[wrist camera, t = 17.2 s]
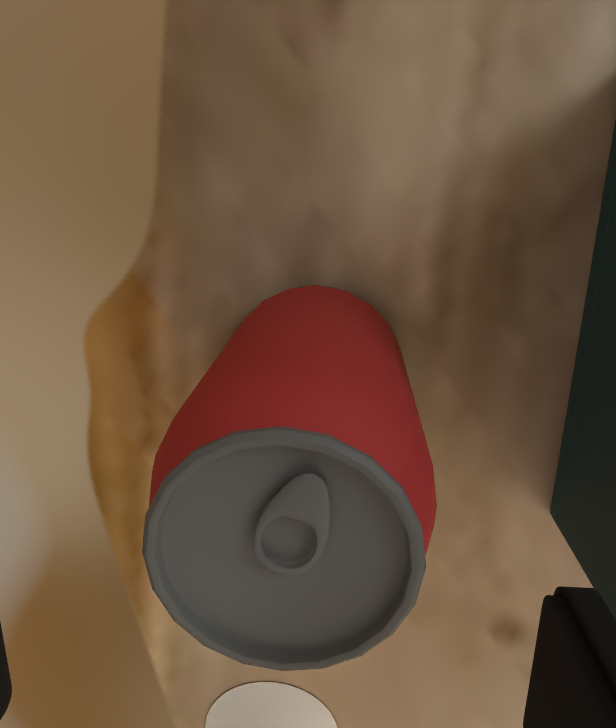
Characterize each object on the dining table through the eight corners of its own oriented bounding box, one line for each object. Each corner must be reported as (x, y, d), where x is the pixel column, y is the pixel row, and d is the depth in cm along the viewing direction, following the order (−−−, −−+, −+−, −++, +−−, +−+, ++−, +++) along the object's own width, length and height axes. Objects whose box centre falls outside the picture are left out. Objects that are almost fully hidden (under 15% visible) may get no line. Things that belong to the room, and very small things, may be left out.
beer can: (427, 315, 22) (512, 474, 10) (366, 463, 24) (380, 731, 12) (260, 257, 21) (158, 355, 10) (212, 412, 24) (85, 637, 12)
